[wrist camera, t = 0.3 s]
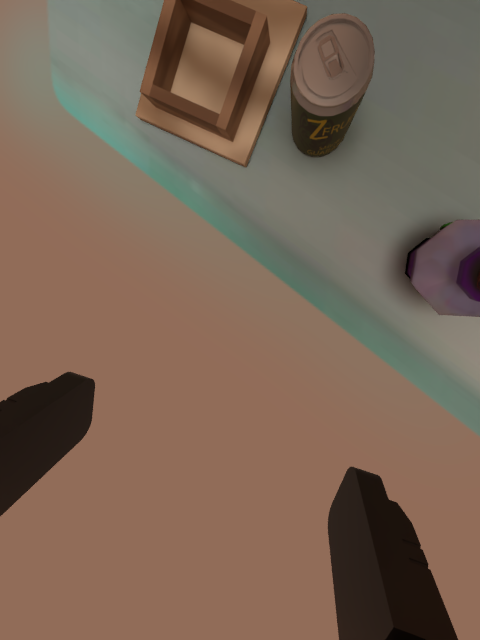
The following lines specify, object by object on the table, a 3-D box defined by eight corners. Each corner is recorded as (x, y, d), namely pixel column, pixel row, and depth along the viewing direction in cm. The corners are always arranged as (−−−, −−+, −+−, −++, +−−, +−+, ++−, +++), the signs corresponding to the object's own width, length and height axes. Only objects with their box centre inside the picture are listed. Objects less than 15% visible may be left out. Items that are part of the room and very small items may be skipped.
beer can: (283, 116, 30) (277, 42, 19) (335, 87, 29) (361, -13, 18) (303, 168, 31) (308, 126, 20) (354, 142, 30) (390, 81, 18)
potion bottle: (468, 206, 29) (578, 185, 18) (487, 287, 31) (599, 315, 20) (379, 240, 32) (427, 240, 20) (401, 314, 33) (456, 352, 22)
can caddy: (184, -36, 29) (163, -87, 24) (306, 16, 28) (308, -27, 23) (140, 119, 33) (116, 100, 28) (246, 167, 32) (238, 155, 28)
